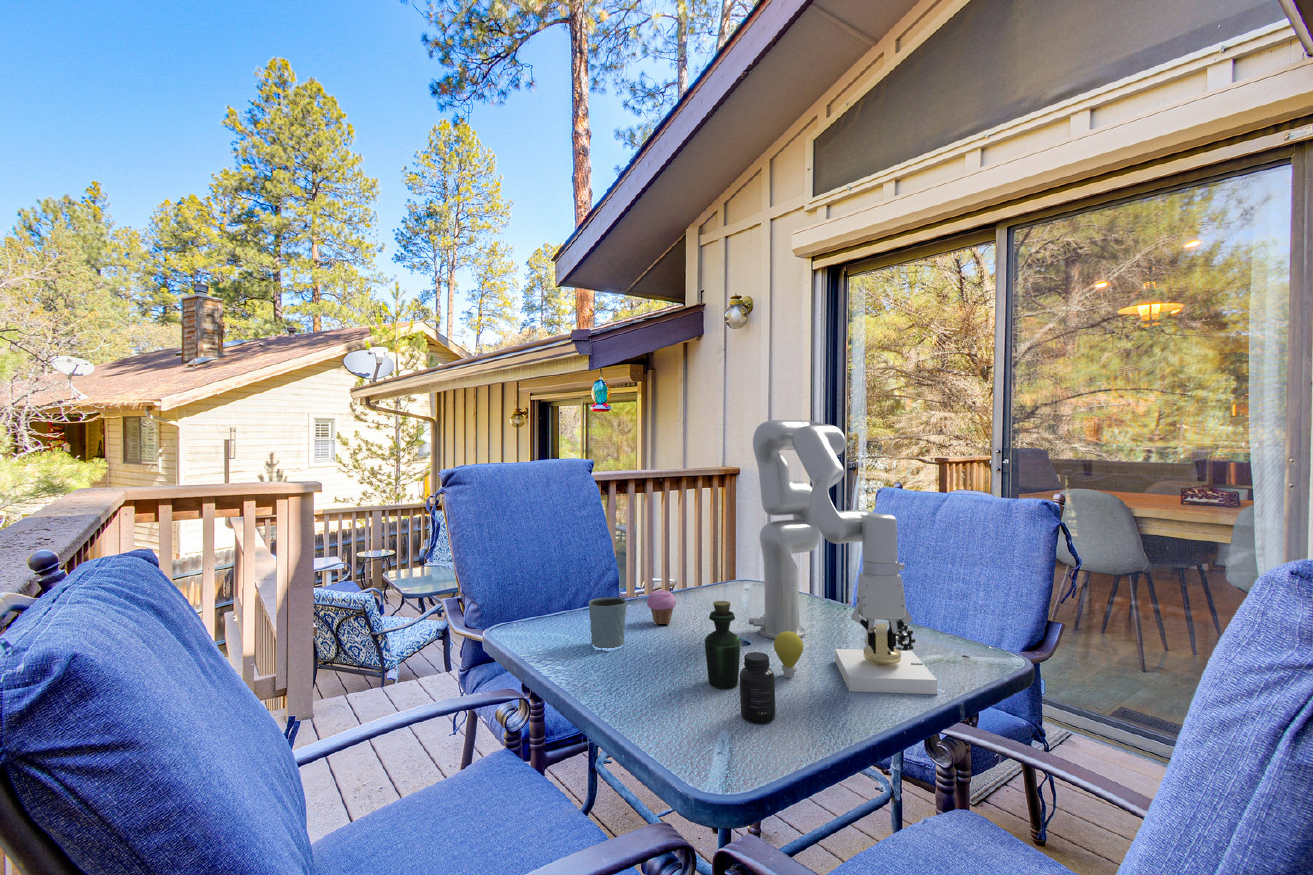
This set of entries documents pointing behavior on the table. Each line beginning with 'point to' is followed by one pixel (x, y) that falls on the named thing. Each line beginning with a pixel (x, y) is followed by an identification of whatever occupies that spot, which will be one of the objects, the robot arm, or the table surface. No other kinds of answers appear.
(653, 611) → the cupcake
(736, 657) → the potion bottle
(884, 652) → the knob
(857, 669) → the base plate
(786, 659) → the light bulb
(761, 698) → the supplement bottle
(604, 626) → the grey cup
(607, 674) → the table surface
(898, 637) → the valve
